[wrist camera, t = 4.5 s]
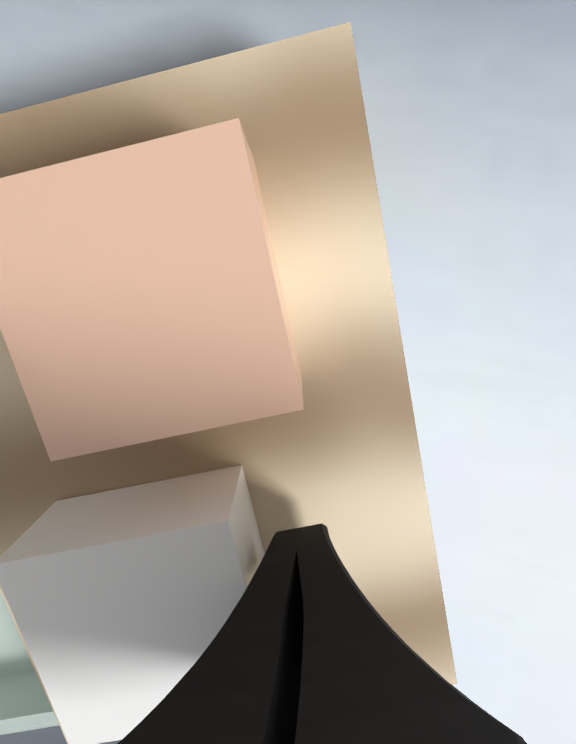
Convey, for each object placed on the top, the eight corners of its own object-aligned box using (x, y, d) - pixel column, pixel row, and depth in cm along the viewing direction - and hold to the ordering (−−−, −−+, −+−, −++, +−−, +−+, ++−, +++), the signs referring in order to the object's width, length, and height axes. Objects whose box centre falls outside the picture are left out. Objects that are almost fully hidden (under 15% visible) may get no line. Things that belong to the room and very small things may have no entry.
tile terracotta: (301, 376, 10) (304, 409, 8) (105, 417, 11) (50, 461, 8) (253, 157, 9) (239, 118, 7) (35, 210, 10) (-53, 190, 7)
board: (426, 604, 15) (457, 683, 13) (109, 659, 16) (68, 746, 13) (336, 83, 12) (350, 21, 9) (-76, 187, 12) (-189, 163, 9)
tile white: (283, 624, 12) (281, 714, 10) (113, 653, 12) (70, 747, 10) (242, 464, 11) (228, 521, 9) (56, 500, 11) (-9, 565, 9)
